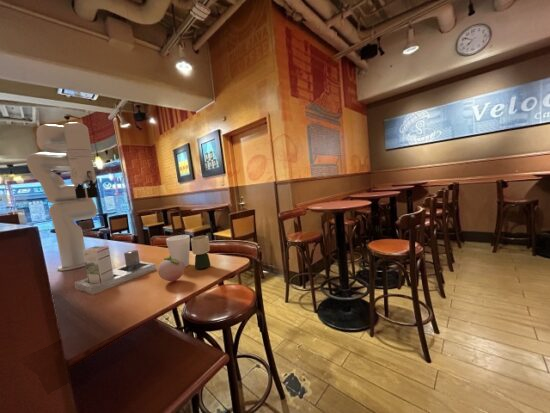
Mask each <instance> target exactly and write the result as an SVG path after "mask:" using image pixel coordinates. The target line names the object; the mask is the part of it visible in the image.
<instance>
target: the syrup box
mask: <svg viewBox="0 0 550 413" xmlns="http://www.w3.org/2000/svg"><path fill="white" fill-rule="evenodd" d="M83 255H84V260H85V266H84V267H85V270H86V276H87V277H86V278H88V282H89V283H90V284H93V285H95V284H97V283H100V282H103V281H105V280H108V279H111V278H114V276H113V270H112V269H113V264H112V259H111V251H110V247H109V245H99V246H93V247H89V248H85V250H83Z"/></svg>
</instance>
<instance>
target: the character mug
mask: <svg viewBox="0 0 550 413" xmlns="http://www.w3.org/2000/svg"><path fill="white" fill-rule="evenodd" d="M190 243H191V250H192V254H193V255H195V256H194V258H195V259H194V268H195V269H197V270H200V269H206V268H208V267H210V266H211V261H210V257H209V252H210V250H211V247H210V239H209V236H208V235H199V236H195V237H191V238H190Z"/></svg>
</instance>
